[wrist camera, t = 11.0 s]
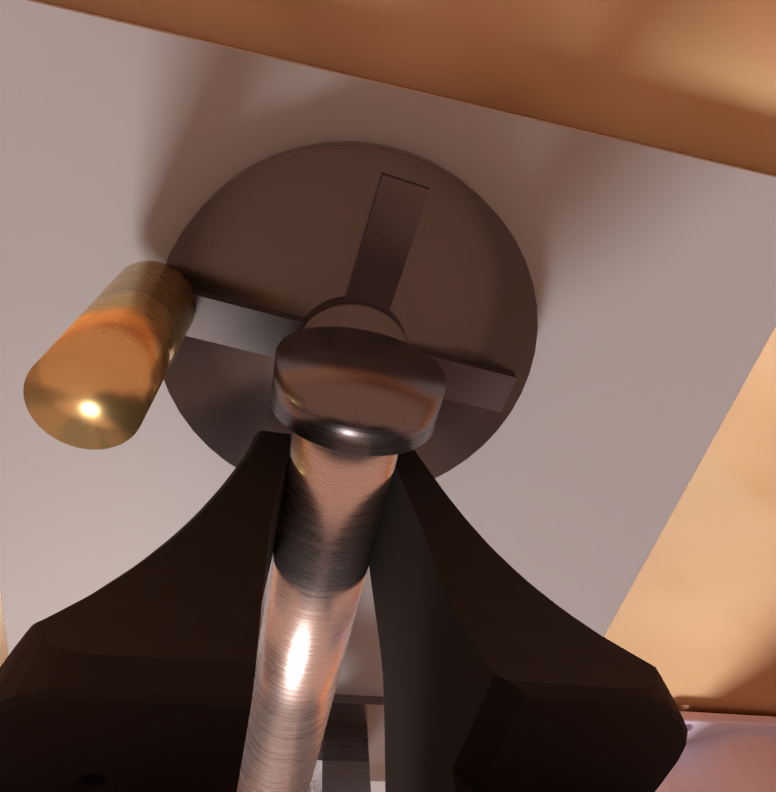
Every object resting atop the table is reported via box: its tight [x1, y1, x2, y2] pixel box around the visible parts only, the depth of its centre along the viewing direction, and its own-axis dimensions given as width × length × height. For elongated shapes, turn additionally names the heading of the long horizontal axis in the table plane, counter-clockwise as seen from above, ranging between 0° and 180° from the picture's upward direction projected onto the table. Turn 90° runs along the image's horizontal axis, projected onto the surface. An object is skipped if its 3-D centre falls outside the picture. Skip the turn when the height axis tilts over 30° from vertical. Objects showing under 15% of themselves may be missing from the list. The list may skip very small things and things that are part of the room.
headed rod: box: [237, 326, 447, 792], centre depth 14 cm, size 3×14×3 cm, turn 168°
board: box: [0, 0, 776, 792], centre depth 18 cm, size 18×24×1 cm
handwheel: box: [23, 141, 538, 478], centre depth 11 cm, size 8×9×5 cm
